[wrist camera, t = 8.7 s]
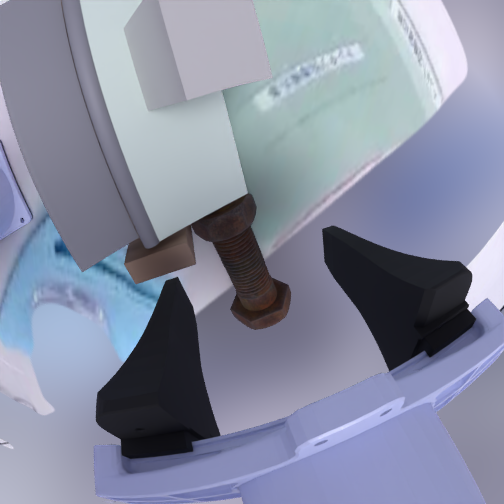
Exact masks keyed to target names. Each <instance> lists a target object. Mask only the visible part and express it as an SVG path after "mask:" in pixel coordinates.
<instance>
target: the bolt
mask: <svg viewBox="0 0 504 504" xmlns="http://www.w3.org/2000/svg"><path fill="white" fill-rule="evenodd" d="M255 214H256V205H255V202H254V199H253V197H252V195H251V194H249V193H248V194H246V195H244V196H242V197H240V198H238V199H236V200H234V201H232V202H230V203H228V204H227V205H225V206H223V207H221V208H219V209H217V210H215V211H213V212H212V213H210V214H208V215H206V216H204V217H202V218H201V219H199V220H197V221H195V222H193V223H192V224H191V226H192V228H193V230H194V232H195V233H196V234H197V235H198V236H199V237H201V238H202V239H204V240H206V241H210V242H213V244H214V246H215V248H216V250H217V252H218V254H219V257H220V258H221V261H222V263H223V264H224V267H225V268H226V270H227V272H228V274H229V276H230V278H231V281H232V283H233V285H234V287H235V289H236V293H237V294H236V296H235V299H234V301H233V304H232V306H231V309H230V310H231V311H232V313H233V315H234V316H235V317H236V318H237V319H238V320H239V321H241V322H242V323H243V324H244V325H246V326H247V327H249V328H251V329H254V330H256V329H263V328H267V327H270V326H273V325H275V324H276V323H278V322H280V321H281V320H282V319H283V318H285V317H286V315H287V313H288V310H289V306H290V301H291V291H290V288H289V285H287V284H285V283H283V282H280V281H278V280H276V279H274V278H272V277H271V276H270V275H269V272H268V270H267V267H266V265H265V261H264V259H263V256H262V254H261V251H260V248H259V246H258V243H257V241H256V238H255V235H254V233H253V231H252V228H251V226H250V225H251V224H252V222H253V221H254V218H255Z"/></svg>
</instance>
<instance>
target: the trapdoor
mask: <svg viewBox="0 0 504 504" xmlns="http://www.w3.org/2000/svg"><path fill="white" fill-rule="evenodd" d="M142 1H143V0H62V5H61V0H9V1H8V2H6V3H4V4H2V5H0V82H1V87H2V91H3V95H4V99H5V103H6V107H7V110H8V114H9V117H10V120H11V124H12V127H13V130H14V133H15V136H16V139H17V142H18V144H19V147H20V150H21V153H22V155H23V158H24V160H25V163H26V165H27V168H28V170H29V173H30V175H31V177H32V180H33V182H34V184H35V187H36V189H37V191H38V193H39V195H40V197H41V199H42V202H43V204H44V206H45V208H46V210H47V212H48V214H49V216H50V218H51V219H52V221H53V223H54V225H55V227H56V229H57V231H58V233H59V234H60V236H61V238H62V240H63V241H64V243H65V245H66V247H67V248H68V250H69V252H70V253H71V255H72V257H73V258H74V260H75V262H76V263H77V265H78V266H79V268H80V270H81V271H82V272H84V271H85V270H87V269H88V268H90V267H91V266H93V265H95V264H96V263H98V262H99V261H101V260H103V259H104V258H106V257H107V256H109V255H111V254H112V253H114V252H116V251H117V250H119V249H121V248H122V247H124V246H126V245H127V244H129V243H131V242H132V241H134V240H136V239H137V238H139V237H140V239H141V241H142V243H143V245H144V247H145V248H147V249H149V248H152V247H154V246H156V245H157V244H158V243H159V242H160V241H162V240H163V239H165V238H167V237H168V236H170V235H172V234H174V233H175V232H177V231H179V230H181V229H183V228H184V227H186V226H188V225H190V224H192V223H193V222H195V221H197V220H199V219H201V218H202V217H204V216H206V215H208V214H210V213H212V212H213V211H215V210H217V209H219V208H221V207H223V206H225V205H227V204H228V203H230V202H232V201H234V200H236V199H238V198H240V197H242V196H244V195H246V194H248V192H247V187H246V183H245V179H244V175H243V171H242V167H241V163H240V159H239V155H238V151H237V147H236V143H235V139H234V136H233V132H232V128H231V124H230V120H229V116H228V112H227V108H226V104H225V100H224V96H223V92H222V90H220V91H216V92H213V93H210V94H206V95H203V96H200V97H197V98H193V99H190V100H187V101H183V102H179V103H175V104H172V105H168V106H164V107H160V108H157V109H154V110H150V111H148V110H147V107H146V104H145V100H144V97H143V94H142V91H141V88H140V85H139V81H138V78H137V75H136V71H135V68H134V65H133V61H132V58H131V54H130V51H129V47H128V44H127V40H126V36H125V33H124V27H125V25H126V24H127V22H128V21H129V19H130V18H131V16H132V15H133V13H134V12H135V10H136V9H137V8H138V6H139V5H140V3H141V2H142ZM62 7H63V12H62ZM63 13H64V17H63ZM64 18H65V23H64ZM65 24H66V28H65ZM66 29H67V33H68V37H67V33H66ZM68 38H69V42H68ZM69 43H70V46H69ZM70 47H71V51H72V55H73V59H74V63H75V67H76V70H75V67H74V63H73V59H72V55H71V51H70ZM76 71H77V74H76ZM77 75H78V78H79V81H78V78H77ZM79 82H80V85H81V88H80V85H79ZM81 89H82V92H83V95H84V98H83V95H82V92H81ZM84 99H85V101H84ZM85 102H86V105H87V108H88V111H89V114H90V117H91V120H92V123H93V126H94V129H95V131H94V129H93V126H92V123H91V120H90V117H89V114H88V111H87V108H86V105H85ZM95 132H96V134H95ZM96 135H97V137H98V140H99V143H100V145H99V143H98V140H97V137H96ZM100 146H101V148H102V151H103V153H102V151H101V148H100ZM103 154H104V156H105V158H104V156H103ZM105 159H106V161H107V164H108V166H109V169H110V171H111V174H112V176H113V178H112V176H111V174H110V171H109V169H108V166H107V164H106V161H105ZM113 179H114V181H115V183H114V181H113ZM115 184H116V186H117V188H118V190H117V188H116V186H115ZM118 191H119V193H120V195H121V197H120V195H119V193H118ZM121 198H122V200H123V202H124V204H123V202H122V200H121ZM124 205H125V206H124ZM125 207H126V209H127V211H128V213H129V215H128V213H127V211H126V209H125ZM129 216H130V217H129ZM130 218H131V220H132V222H133V224H134V226H135V228H136V230H135V228H134V226H133V224H132V222H131V220H130ZM136 231H137V232H136ZM137 233H138V234H137ZM138 235H139V236H138Z"/></svg>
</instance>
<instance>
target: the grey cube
mask: <svg viewBox="0 0 504 504" xmlns="http://www.w3.org/2000/svg"><path fill="white" fill-rule="evenodd" d="M124 33H125V36H126V40H127V44H128V47H129V51H130V54H131V58H132V61H133V65H134V68H135V71H136V75H137V78H138V81H139V85H140V88H141V91H142V94H143V97H144V100H145V104H146V107H147V110H148V111H150V110H154V109H157V108H160V107H164V106H168V105H172V104H175V103H179V102H183V101H187V100H190V99H193V98H197V97H200V96H203V95H206V94H210V93H213V92H216V91H220V90H224V89H227V88H231V87H235V86H239V85H243V84H247V83H251V82H256V81H260V80H265V79H270V78H273V77H272V73H271V69H270V64H269V60H268V56H267V52H266V48H265V44H264V40H263V37H262V33H261V29H260V25H259V22H258V18H257V15H256V11H255V7H254V4H253V1H252V0H143V1H142V2H141V3H140V5H139V6H138V8H137V9H136V10H135V12H134V13H133V15H132V16H131V18H130V19H129V21H128V22H127V24H126V25H125V27H124Z"/></svg>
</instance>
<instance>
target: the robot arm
mask: <svg viewBox="0 0 504 504" xmlns="http://www.w3.org/2000/svg"><path fill="white" fill-rule="evenodd" d="M22 218H23V219H24V221H23V220H22ZM31 219H32V215H31V213H30V211H29V209H28V207H27V205H26V203H25V201H24V199H23V197H22V194H21V192H20V190H19V188H18V186H17V183H16V181H15V179H14V176H13V174H12V172H11V169H10V167H9V164H8V162H7V159H6V156H5V154H4V151H3V148H2V145H1V142H0V240H1V239H3V238H5V237H6V236H8V235H9V234H11V233H13V232H14V231H16V230H17V229H19V228H21V227H22V226H24V225H26V224H28V223H29V222H30V221H31ZM322 232H323V245H324V259H325V263H326V265H327V267H328V269H329V270H330V272H331V274H332V275H333V277H334V279H335V280H336V281H337V283H338V284H339V285H340V286H341V288H342V289H343V290H344V292H345V293H346V294H347V295H348V297H349V298H350V299H351V301H352V302H353V303H354V305H355V306H356V307H357V309H358V310H359V312H360V313H361V315H362V317H363V318H364V320H365V322H366V323H367V325H368V327H369V329H370V331H371V333H372V335H373V336H374V338H375V340H376V342H377V344H378V346H379V348H380V351H381V353H382V355H383V357H384V359H385V362H386V364H387V367H388V369H389V372H388V373H380V374H377V375H375V376H372V377H370V378H368V379H366V380H364V381H361V382H360V383H357V384H355V385H353V386H351V387H349V388H347V389H345V390H342V391H340V392H338V393H335V394H333V395H331V396H328V397H326V398H324V399H321V400H319V401H317V402H314V403H311V404H309V405H307V406H305V407H303V408H301V409H299V410H297V411H295V412H294V413H293V414H291V415H290V416H288V417H285V418H282V419H279V420H276V421H273V422H270V423H266V424H263V425H260V426H256V427H253V428H249V429H246V430H242V431H238V432H235V433H231V434H227V435H222V436H220V432H219V429H218V427H217V424H216V421H215V418H214V414H213V411H212V408H211V404H210V401H209V397H208V393H207V390H206V387H205V382H204V378H203V373H202V368H201V361H200V353H199V343H198V332H197V323H196V319H195V314H194V310H193V306H192V304H191V302H190V300H189V298H188V296H187V294H186V292H185V290H184V288H183V286H182V284H181V282H180V280H179V278H178V277H176V278H173V279H170V280H167V281H166V282H165V284H164V286H163V289H162V291H161V294H160V297H159V299H158V302H157V304H156V307H155V309H154V311H153V314H152V316H151V318H150V320H149V323H148V325H147V327H146V329H145V331H144V333H143V335H142V337H141V338H140V340H139V342H138V343H137V345H136V347H135V348H134V350H133V351H132V353H131V354H130V355H129V357H128V358H127V360H126V361H125V363H124V364H123V365H122V366H121V368H120V369H119V370H118V371H117V373H116V374H115V375H114V376H113V377H112V378H111V379H110V381H109V382H108V383H107V384H106V385H105V386H104V387H103V388H102V389H101V390H100V391H99V392H98V394H97V403H96V422H97V423H98V425H99V426H100V427H101V428H103V429H104V430H106V431H107V432H109V433H111V434H112V435H114V436H116V437H118V438H120V439H121V446H120V445H95V446H94V474H95V489H96V495H97V496H99V497H103V498H106V499H110V500H115V501H119V502H124V503H129V504H183V503H198V502H208V501H217V500H226V499H232V498H239V497H242V500H243V504H486V502H485V500H484V498H483V497H482V494H481V492H480V490H479V488H478V486H477V484H476V482H475V480H474V479H473V476H472V475H471V473H470V471H469V469H468V467H467V465H466V463H465V462H464V460H463V458H462V456H461V454H460V453H459V451H458V449H457V447H456V446H455V444H454V442H453V440H452V439H451V437H450V435H449V433H448V432H447V430H446V429H445V427H444V425H443V423H442V422H441V420H440V419H439V417H438V415H437V414H436V412H437V411H438V410H440V409H441V408H442V407H443V406H445V405H446V404H447V403H449V402H450V401H451V400H452V399H453V398H455V397H456V396H457V395H458V394H459V393H461V392H462V391H463V390H464V389H465V388H466V387H468V386H469V385H470V384H471V383H472V382H473V381H474V380H475V379H476V378H478V376H480V375H481V374H482V373H483V372H484V371H485V370H486V369H487V368H488V367H489V366H490V365H491V364H492V363H493V362H494V361H495V360H496V359H497V358H498V356H499V355H500V354H501V353H502V351H503V350H504V315H503V314H502V313H501V312H500V311H499V310H498V309H497V307H496V306H495V305H494V304H493V303H492V302H491V301H490V300H489V299H488V298H487V299H485V300H484V301H483V302H481V303H480V304H479V305H478V306H476V307H475V308H474V309H473V310H472V312H470V311H469V310H468V309H467V308H468V307H469V304H468V303H467V302H466V301H465V298H466V296H467V293H468V291H469V288H470V286H471V282H472V273H471V271H469V270H468V269H467V268H466V267H465V266H464V265H463V264H462V263H461V262H459V261H442V260H435V259H427V258H421V257H417V256H412V255H408V254H404V253H401V252H397V251H394V250H391V249H388V248H385V247H382V246H380V245H377V244H374V243H372V242H370V241H367V240H365V239H363V238H360V237H358V236H356V235H354V234H351V233H350V232H347V231H345V230H343V229H341V228H338V227H336V226H330V227H327V228H324V229H322Z"/></svg>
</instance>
